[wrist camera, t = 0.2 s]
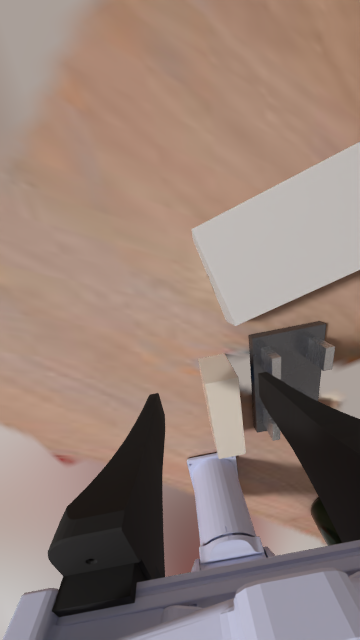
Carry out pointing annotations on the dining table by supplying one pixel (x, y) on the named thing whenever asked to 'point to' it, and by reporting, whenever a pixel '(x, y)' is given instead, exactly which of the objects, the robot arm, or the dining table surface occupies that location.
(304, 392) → the rack
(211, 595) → the robot arm
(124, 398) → the dining table surface
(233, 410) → the cream rectangular block
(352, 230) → the long grey wedge ramp
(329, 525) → the dark green wine bottle
